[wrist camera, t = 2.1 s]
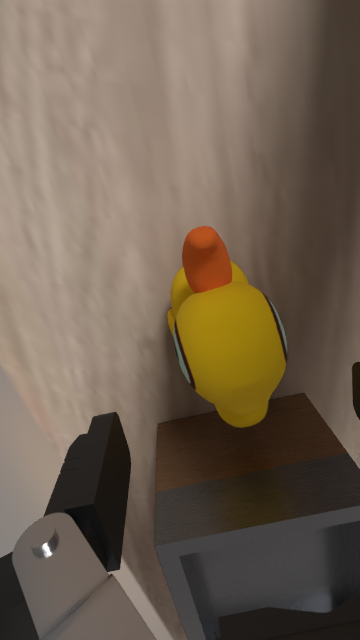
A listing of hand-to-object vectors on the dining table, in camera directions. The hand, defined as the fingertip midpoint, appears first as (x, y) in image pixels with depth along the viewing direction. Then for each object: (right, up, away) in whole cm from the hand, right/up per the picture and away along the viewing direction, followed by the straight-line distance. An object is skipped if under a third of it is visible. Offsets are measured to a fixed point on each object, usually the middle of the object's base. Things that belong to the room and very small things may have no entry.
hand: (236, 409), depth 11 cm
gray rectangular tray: (+4, -11, +16) cm, 19 cm away
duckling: (0, +4, +10) cm, 11 cm away
